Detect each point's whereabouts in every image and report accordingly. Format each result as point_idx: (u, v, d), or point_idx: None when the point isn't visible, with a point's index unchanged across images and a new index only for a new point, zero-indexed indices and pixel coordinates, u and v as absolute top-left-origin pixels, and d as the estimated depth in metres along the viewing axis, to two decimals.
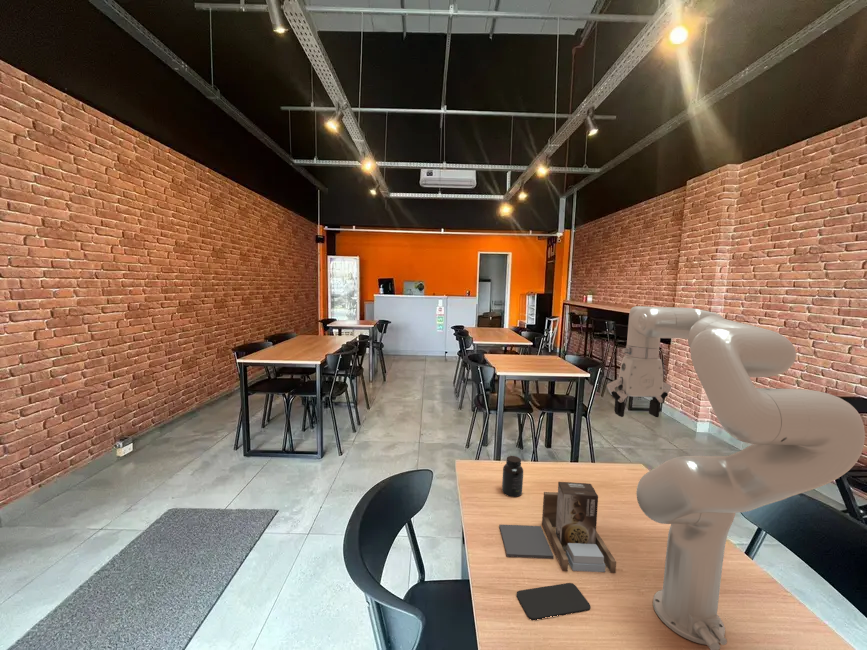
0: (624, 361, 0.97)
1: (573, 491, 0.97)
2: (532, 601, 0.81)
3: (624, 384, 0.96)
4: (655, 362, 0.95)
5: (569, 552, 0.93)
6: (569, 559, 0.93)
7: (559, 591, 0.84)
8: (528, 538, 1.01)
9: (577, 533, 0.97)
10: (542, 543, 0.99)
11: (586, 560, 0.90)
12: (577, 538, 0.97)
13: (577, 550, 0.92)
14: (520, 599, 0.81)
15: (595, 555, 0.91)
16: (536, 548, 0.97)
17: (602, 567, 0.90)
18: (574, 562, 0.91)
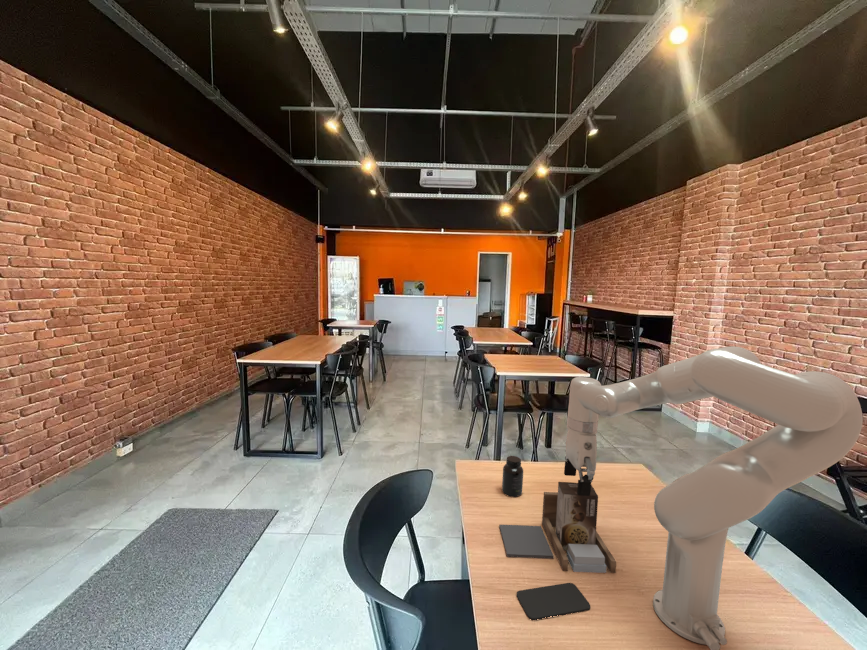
0: (587, 440, 0.93)
1: (573, 491, 0.97)
2: (532, 601, 0.81)
3: (592, 463, 0.93)
4: None
5: (570, 553, 0.93)
6: (570, 560, 0.92)
7: (559, 591, 0.84)
8: (528, 538, 1.01)
9: (577, 533, 0.97)
10: (542, 543, 0.99)
11: (587, 561, 0.90)
12: (577, 538, 0.97)
13: (578, 551, 0.92)
14: (520, 599, 0.81)
15: (596, 556, 0.90)
16: (536, 548, 0.97)
17: (603, 568, 0.90)
18: (575, 563, 0.90)
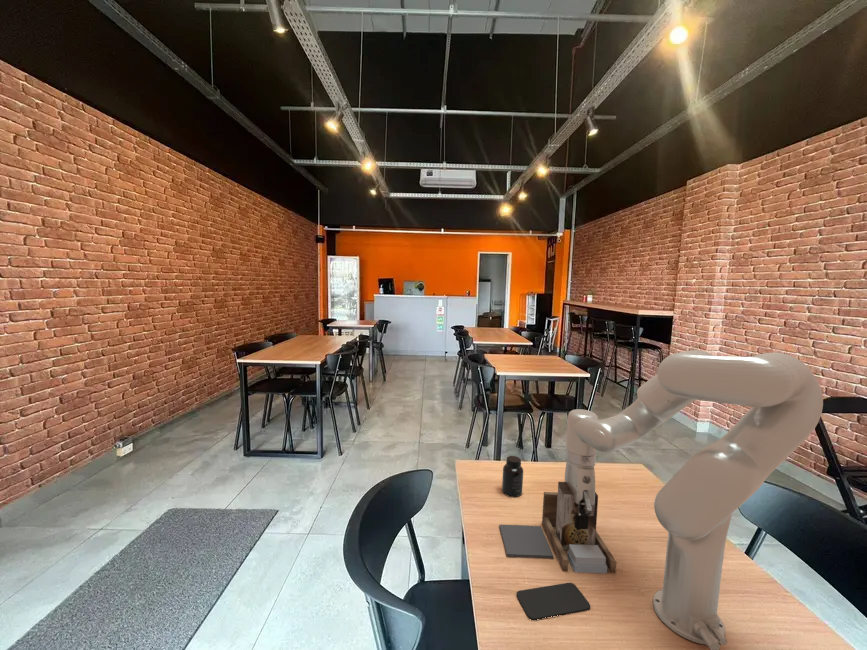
0: (586, 473, 0.94)
1: None
2: (532, 601, 0.81)
3: (591, 496, 0.94)
4: None
5: (571, 553, 0.93)
6: (571, 561, 0.92)
7: (559, 591, 0.84)
8: (528, 538, 1.01)
9: (577, 533, 0.97)
10: (542, 543, 0.99)
11: (588, 561, 0.90)
12: (577, 538, 0.97)
13: (579, 551, 0.92)
14: (520, 599, 0.81)
15: (597, 556, 0.90)
16: (536, 548, 0.97)
17: (603, 569, 0.90)
18: (576, 564, 0.90)
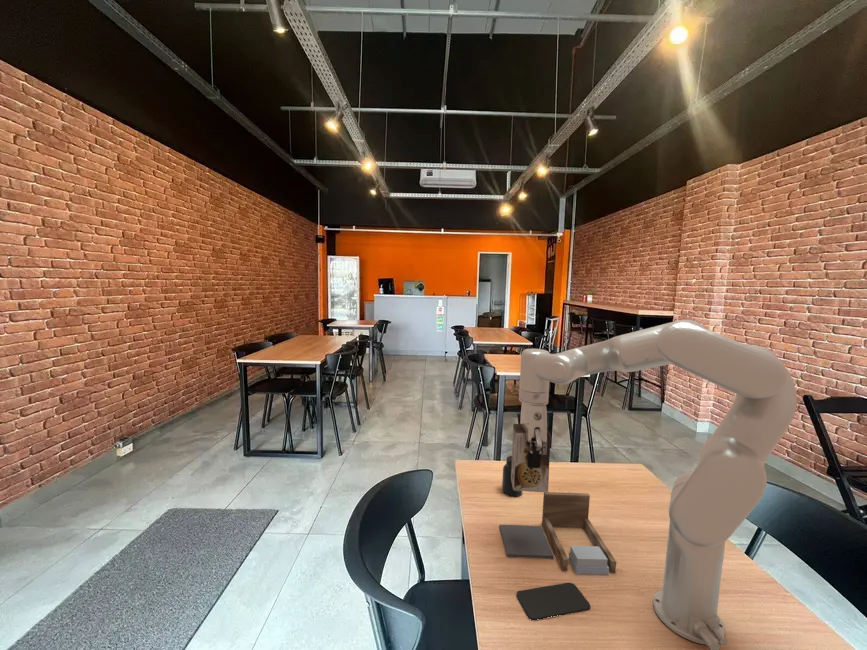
0: (537, 410, 0.92)
1: None
2: (532, 601, 0.81)
3: (543, 433, 0.92)
4: None
5: (572, 555, 0.92)
6: (572, 562, 0.92)
7: (559, 591, 0.84)
8: (528, 538, 1.01)
9: (530, 472, 0.95)
10: (542, 543, 0.99)
11: (590, 563, 0.90)
12: (530, 477, 0.95)
13: (580, 553, 0.91)
14: (520, 599, 0.81)
15: (599, 558, 0.90)
16: (536, 548, 0.97)
17: (605, 570, 0.89)
18: (578, 565, 0.90)
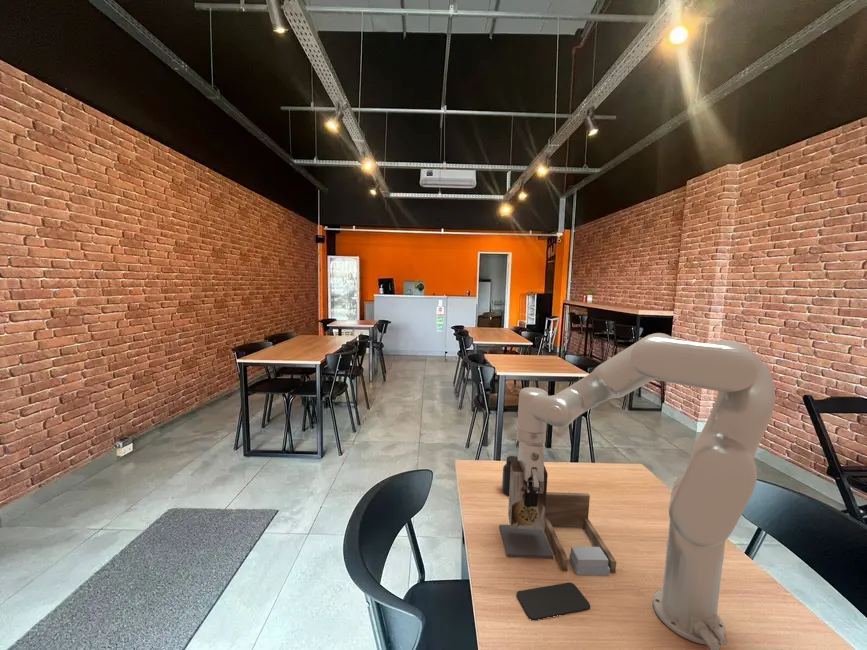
0: (534, 450, 0.93)
1: None
2: (532, 601, 0.81)
3: (540, 473, 0.93)
4: None
5: (573, 556, 0.92)
6: (573, 563, 0.92)
7: (559, 591, 0.84)
8: (528, 538, 1.01)
9: (527, 510, 0.96)
10: (542, 543, 0.99)
11: (590, 564, 0.89)
12: (526, 515, 0.96)
13: (581, 553, 0.91)
14: (520, 599, 0.81)
15: (599, 558, 0.90)
16: (536, 548, 0.97)
17: (606, 571, 0.89)
18: (578, 566, 0.89)
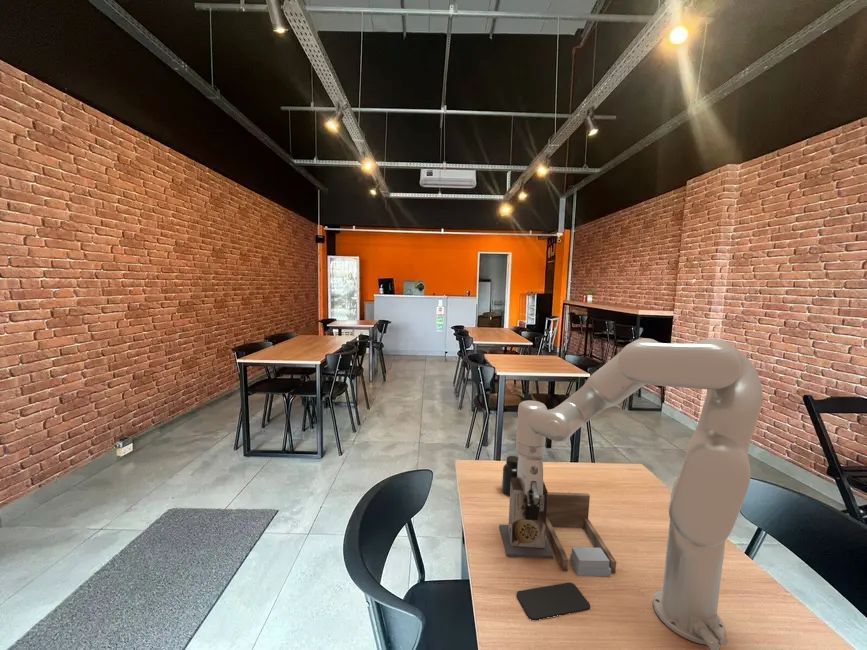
0: (533, 464, 0.93)
1: None
2: (532, 601, 0.81)
3: (539, 487, 0.94)
4: None
5: (574, 556, 0.92)
6: (574, 564, 0.91)
7: (559, 591, 0.84)
8: None
9: (527, 528, 0.96)
10: None
11: (592, 564, 0.89)
12: (527, 533, 0.97)
13: (582, 554, 0.91)
14: (520, 599, 0.81)
15: (601, 559, 0.89)
16: (536, 548, 0.97)
17: (607, 571, 0.89)
18: (580, 567, 0.89)
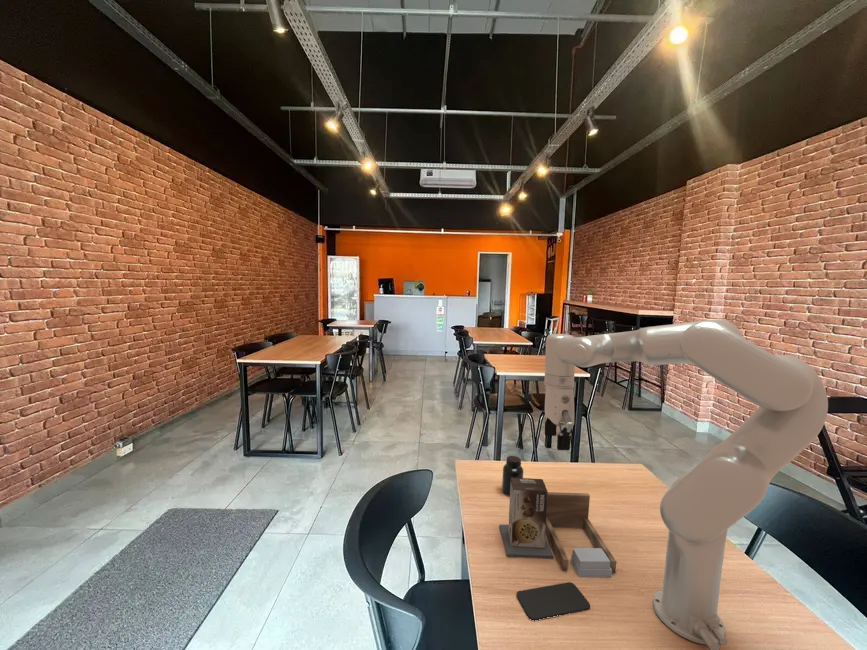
0: (564, 393, 0.93)
1: (523, 486, 0.97)
2: (532, 601, 0.81)
3: (571, 416, 0.93)
4: None
5: (575, 557, 0.92)
6: (575, 565, 0.91)
7: (559, 591, 0.84)
8: None
9: (527, 528, 0.96)
10: None
11: (593, 565, 0.89)
12: (527, 533, 0.97)
13: (583, 555, 0.91)
14: (520, 599, 0.81)
15: (601, 560, 0.89)
16: (536, 548, 0.97)
17: (608, 572, 0.89)
18: (581, 568, 0.89)
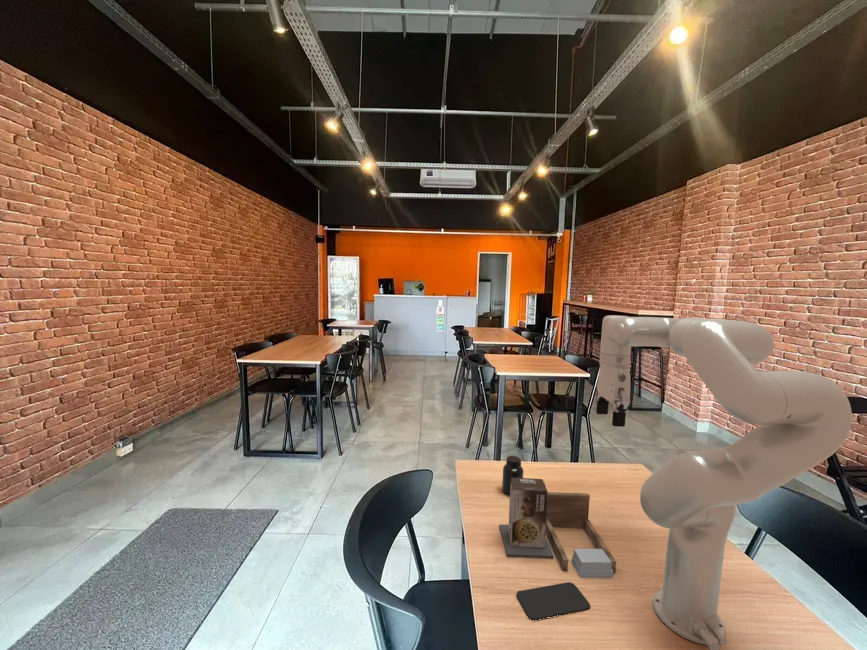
0: (621, 372, 0.97)
1: (523, 486, 0.97)
2: (532, 601, 0.80)
3: (627, 394, 0.97)
4: None
5: (576, 558, 0.91)
6: (576, 565, 0.91)
7: (559, 591, 0.84)
8: None
9: (527, 528, 0.96)
10: None
11: (594, 566, 0.89)
12: (527, 533, 0.97)
13: (584, 556, 0.90)
14: (520, 599, 0.81)
15: (603, 561, 0.89)
16: (536, 548, 0.97)
17: (609, 573, 0.89)
18: (582, 569, 0.88)
